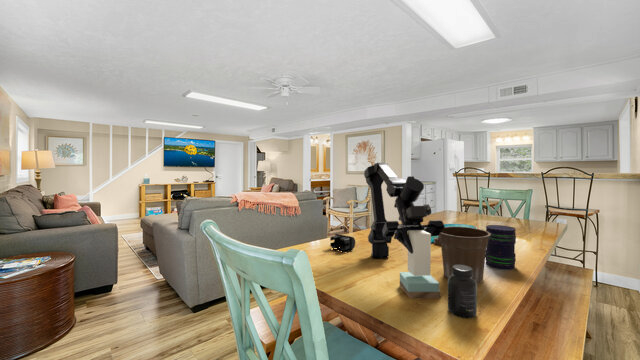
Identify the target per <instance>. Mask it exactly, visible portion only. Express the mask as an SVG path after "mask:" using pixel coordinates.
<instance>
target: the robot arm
mask: <svg viewBox="0 0 640 360" xmlns="http://www.w3.org/2000/svg"><path fill="white" fill-rule="evenodd" d="M363 175H364V178H365V182H366V184H367V185H368V187H370V195H371V203H372V213H373V221H372V224H371V226H370V232H369V233H368V236H367V239H368V243H370V244H371V253H370V254H371V258H372V259H379V260H384V259H385V260H387V259H389V256H390V255H389V252H390V247H389V245H388V244H392V239H394V240H397V241H398V242H399V243H400V244H401V245H403V246H404V248H405V249H406V250H407V252H408V251H409V252H410V253H411V254H413V248H412V245H411V242H410V239H409V237H408V231H414V230H424V231H426V232H428V233H430V234H431V237H438V235H440V233H441V232H442V230H443V229H444V227H446V225H445V224H444V221H442V220H441V219H430V220H429V221H428V223H427V224H422V223H423V222H424V218H425V217H427V216H430V215H431V214H432V207H431V206H430V204H429V203H428V204H426V203H424V204H423V205H415V202H416V201H418V199H419V197H420V195H421V194H422V193H423V190H424V188H425V185H424V183H423V182H422V181H420V180H419V179H417V178H415V177H414V175H413V176H409V175H408V176H407V177H406V179H404V178H401V177H398V176H397V175H396V173H394V171H393V170H392V169H391V168H390V166H389V164H388V163H387V162H375V163H374V164H373V165H370V166H367V168H366V169H365V170H364V174H363ZM383 183H385V184H386V189H385V190H386V193H387V194H388V195H389V197H390V198H395V200H394V208H396V209H397V213H398V220H399V221H400V222H401V223H399V221H398V220H387V219H386V214H385V204H384V196H383V189H382V185H383Z"/></svg>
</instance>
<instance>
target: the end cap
mask: <svg viewBox="0 0 640 360" xmlns="http://www.w3.org/2000/svg"><path fill="white" fill-rule="evenodd" d="M329 240H330V241H332V242H330V245H329V247H330V248H333V249H334V248H337V249H335V250H339V251H342V252H341V253H343V252H347V253H349V252H348V251H350V252H352V251H353V250H354V249H355V247H356V239H355V237H354V236H351V235H345V234H339V233H335V234H334V235H333V236H330V239H329ZM339 247H340V248H339ZM335 250H334V251H335ZM351 250H352V251H351ZM339 251H338V252H339Z"/></svg>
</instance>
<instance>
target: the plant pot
mask: <svg viewBox="0 0 640 360" xmlns="http://www.w3.org/2000/svg"><path fill="white" fill-rule="evenodd" d="M439 237H440V242H441V245H440V246H441V259H442V269H443V270H442V271H443V275H444V277H445V278H447V279H448V278H449V277H450V276H451V275H453V274H452V266H453V265H466V266H469V267H471V268H472V269H473V277H472V278H474V279H475V280H476V282H477V284H480V283H482V282H483V280H484V273H485V265H486V258H485V255H486V247H487V246H488V239H489V237H490V233H489V232H487V231H486V230H484V229H480V228H473V227H467V226H445V227H444V229H443V230H442V232H441V233H440V235H439Z"/></svg>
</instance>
